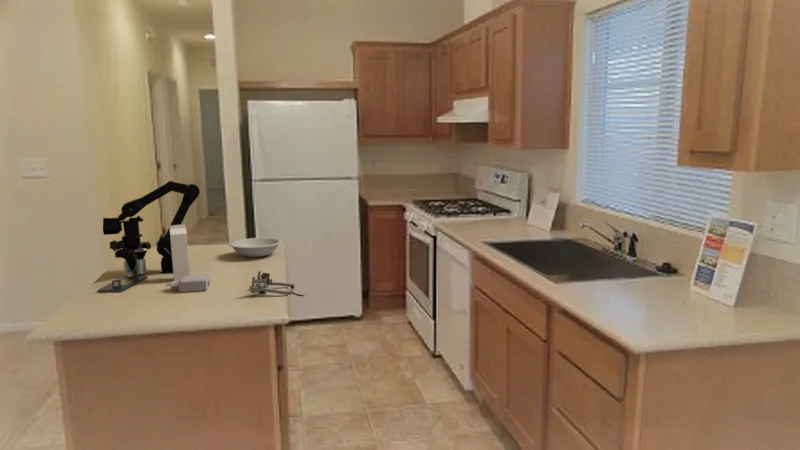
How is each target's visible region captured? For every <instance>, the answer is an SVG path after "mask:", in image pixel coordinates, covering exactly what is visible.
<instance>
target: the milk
mask: <svg viewBox="0 0 800 450" xmlns="http://www.w3.org/2000/svg"><path fill="white" fill-rule="evenodd" d="M169 226H170V225H169ZM186 227H187V226H186V224H181V225H171V226H170V241H171V252H172V264H173V273H172V274H173V281H180V279H181V278H182V277H183V276H186V275H191V270H190V259H189V247H188V235H187V228H186Z"/></svg>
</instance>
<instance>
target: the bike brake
mask: <svg viewBox="0 0 800 450" xmlns="http://www.w3.org/2000/svg"><path fill="white" fill-rule="evenodd" d="M261 273H262V274H261ZM270 274H271V273H267V272H262V271H261V270H258V271H257V277H255V276H252V278H251V285H250V286H249V291H250V293H251V294H254V293H255V292H256V291H258V294H261V295H263V294H264V295H266V294H267V293H272V294H277V295H278V294H279V295H289V296H292V295H295V296H298V297H305V294H299V293H296V292H294V290H295V288H296V287H295V286H296V284H295V283H289V282H282V281H273V278H270ZM269 286H279V287H280V286H281V287H290V289H288V290H282V289H275V288H271V287H269Z"/></svg>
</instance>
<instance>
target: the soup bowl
mask: <svg viewBox="0 0 800 450" xmlns="http://www.w3.org/2000/svg"><path fill="white" fill-rule="evenodd" d="M282 242H283V240H281V239H279V238H275V237H252V238H251V237H250V238H242V239H236V240H233V241H231V242H229V244H228V245H229V247H231V248H233V250H234V251H235V252H236V253H237V254H238V255H241V256H243V257H249V258H257V257H265V256H268V255H271V254H272V253H274V252H275V251H276V250H277V248H278V246H279V245H280V244H282Z"/></svg>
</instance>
